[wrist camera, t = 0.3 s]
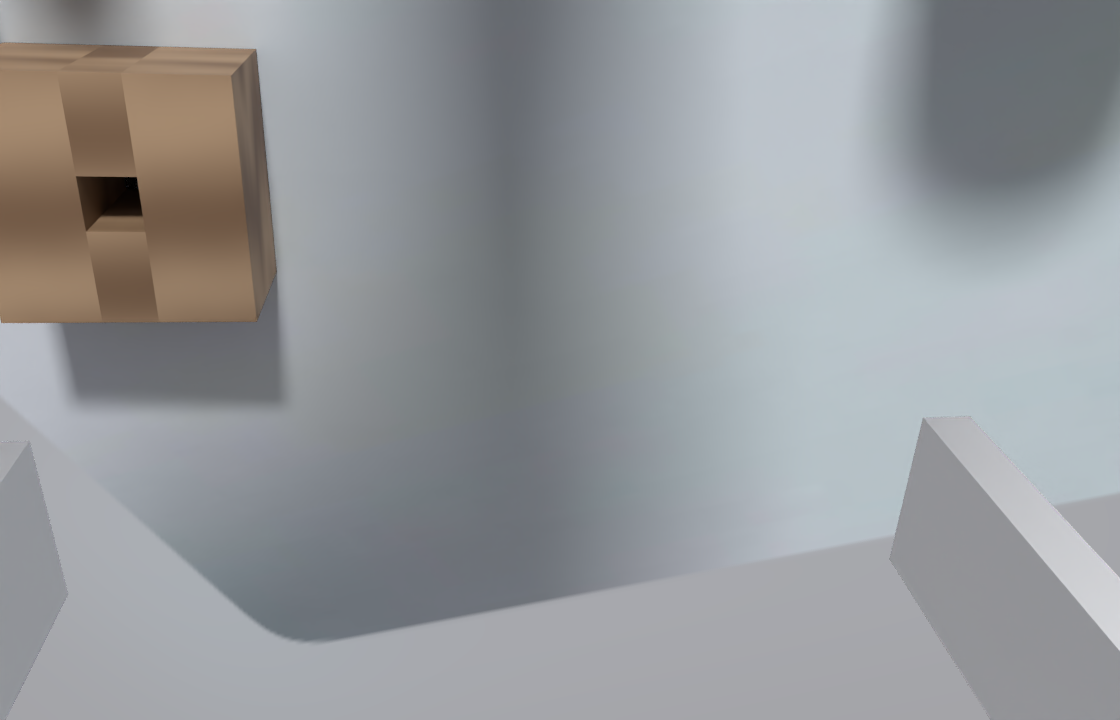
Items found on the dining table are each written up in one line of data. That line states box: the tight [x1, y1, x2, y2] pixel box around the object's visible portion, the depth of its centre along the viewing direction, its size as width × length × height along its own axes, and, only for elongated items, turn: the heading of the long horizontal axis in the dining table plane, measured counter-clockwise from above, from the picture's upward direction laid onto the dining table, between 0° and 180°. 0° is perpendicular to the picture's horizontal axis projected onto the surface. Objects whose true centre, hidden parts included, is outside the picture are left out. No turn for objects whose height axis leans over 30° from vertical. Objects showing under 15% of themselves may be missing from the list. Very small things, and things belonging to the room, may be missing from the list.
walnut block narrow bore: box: [0, 43, 277, 323], centre depth 36 cm, size 9×9×5 cm
